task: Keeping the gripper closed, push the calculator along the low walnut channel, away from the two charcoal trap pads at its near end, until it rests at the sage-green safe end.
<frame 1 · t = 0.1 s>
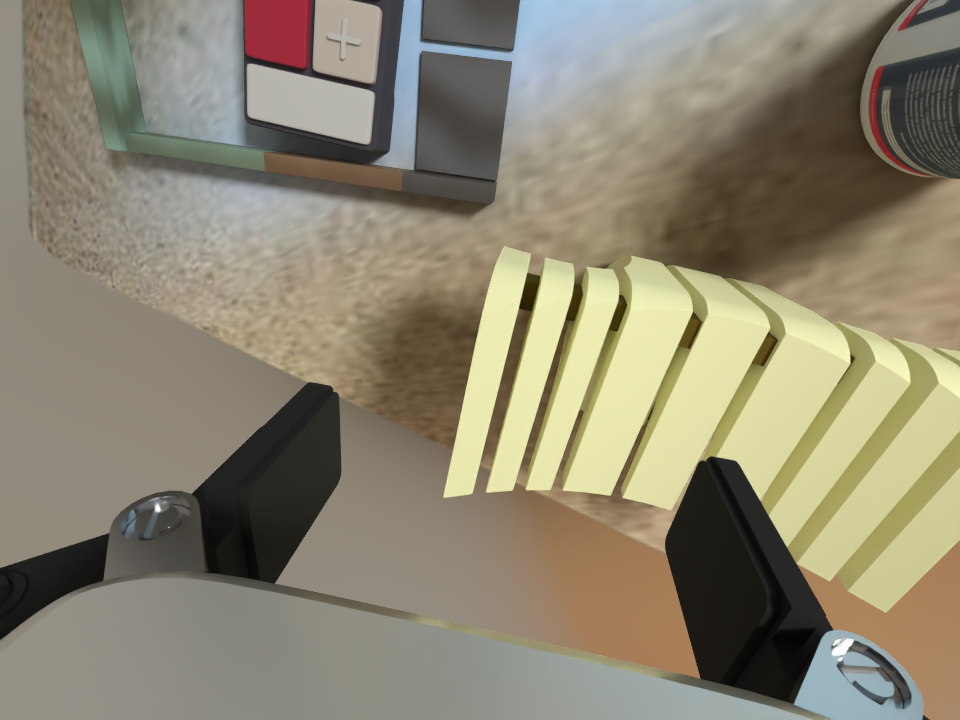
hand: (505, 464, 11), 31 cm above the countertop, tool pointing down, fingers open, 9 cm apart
slatted curved stool: (650, 341, 42), on the countertop
supplement tub: (955, 74, 30), on the countertop
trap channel: (299, 30, 35), on the countertop
calculator: (335, 36, 35), on the countertop
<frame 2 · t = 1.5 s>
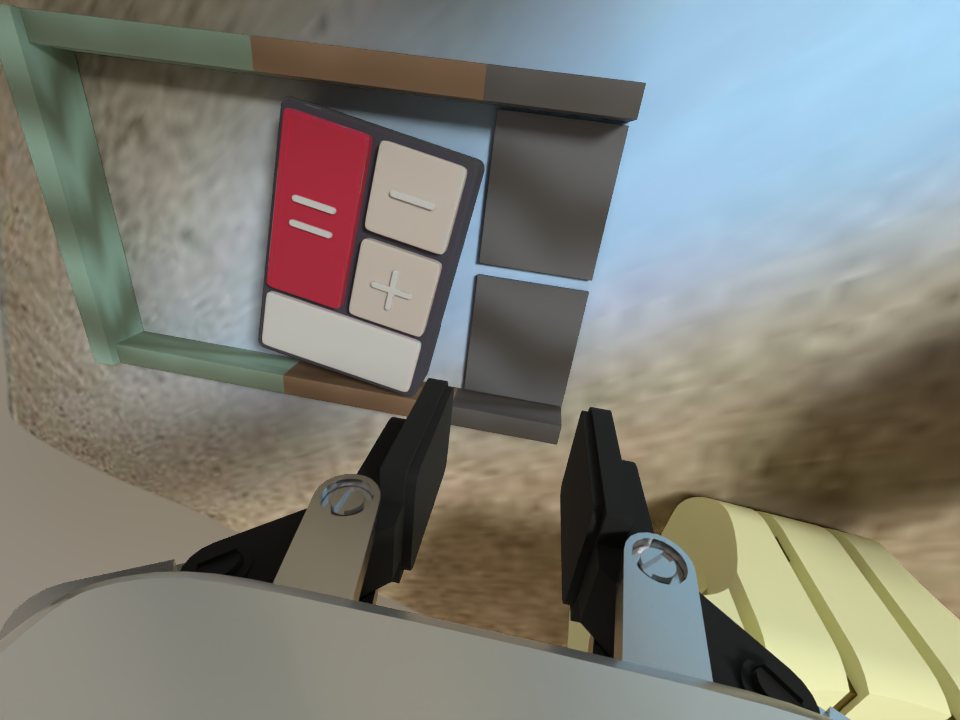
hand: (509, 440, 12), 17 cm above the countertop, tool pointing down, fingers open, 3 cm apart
slatted curved stool: (733, 565, 36), on the countertop
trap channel: (328, 244, 29), on the countertop
calculator: (376, 252, 29), on the countertop
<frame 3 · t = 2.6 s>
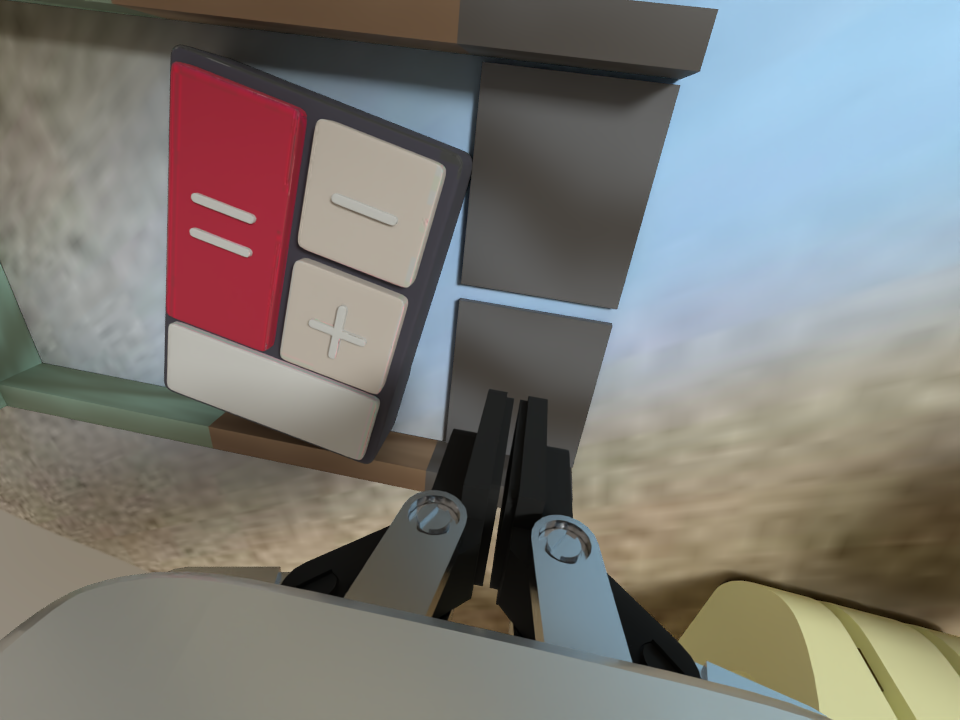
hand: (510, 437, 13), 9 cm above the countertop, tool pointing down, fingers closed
slatted curved stool: (786, 653, 29), on the countertop
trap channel: (258, 256, 21), on the countertop
calculator: (326, 271, 22), on the countertop
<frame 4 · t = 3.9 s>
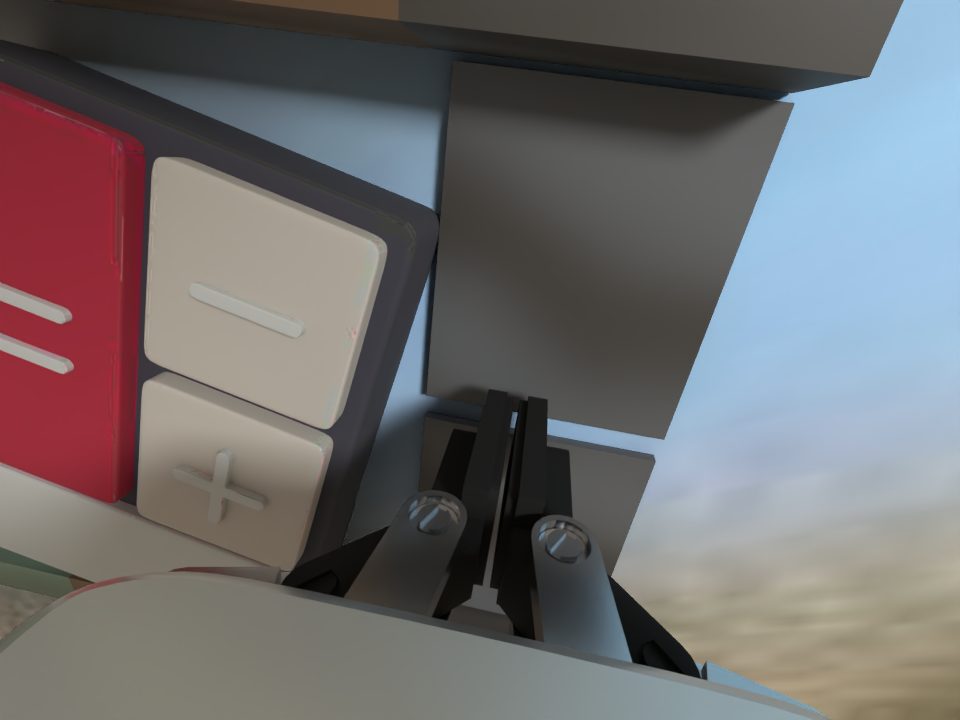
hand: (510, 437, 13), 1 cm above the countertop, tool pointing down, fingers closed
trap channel: (129, 345, 14), on the countertop
calculator: (231, 364, 15), on the countertop
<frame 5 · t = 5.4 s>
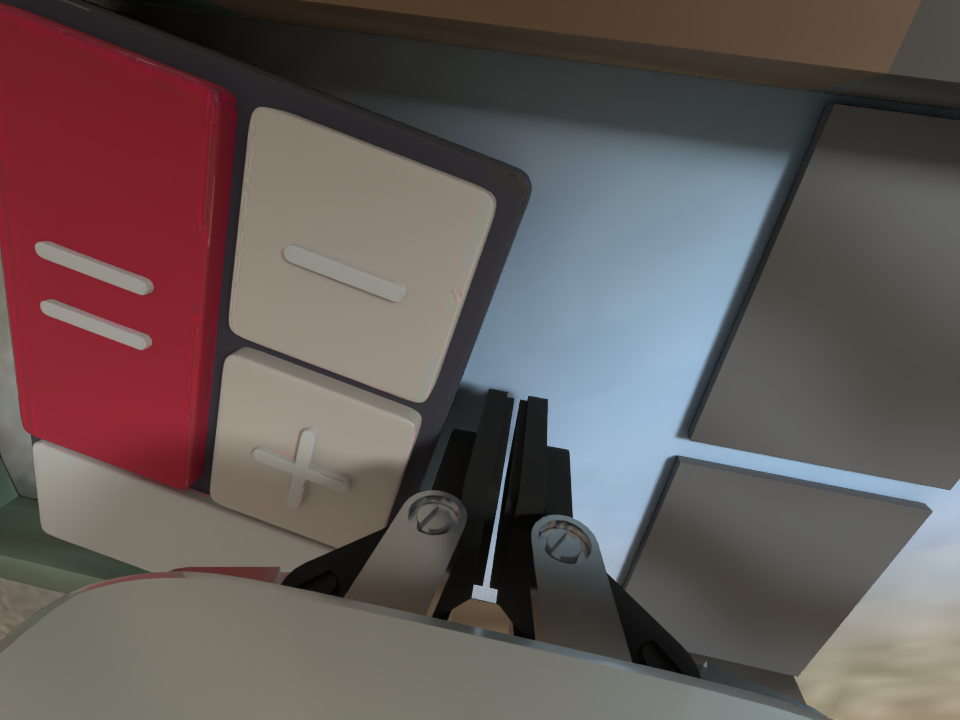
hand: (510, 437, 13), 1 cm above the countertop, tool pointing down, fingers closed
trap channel: (358, 382, 14), on the countertop
calculator: (293, 346, 14), on the countertop
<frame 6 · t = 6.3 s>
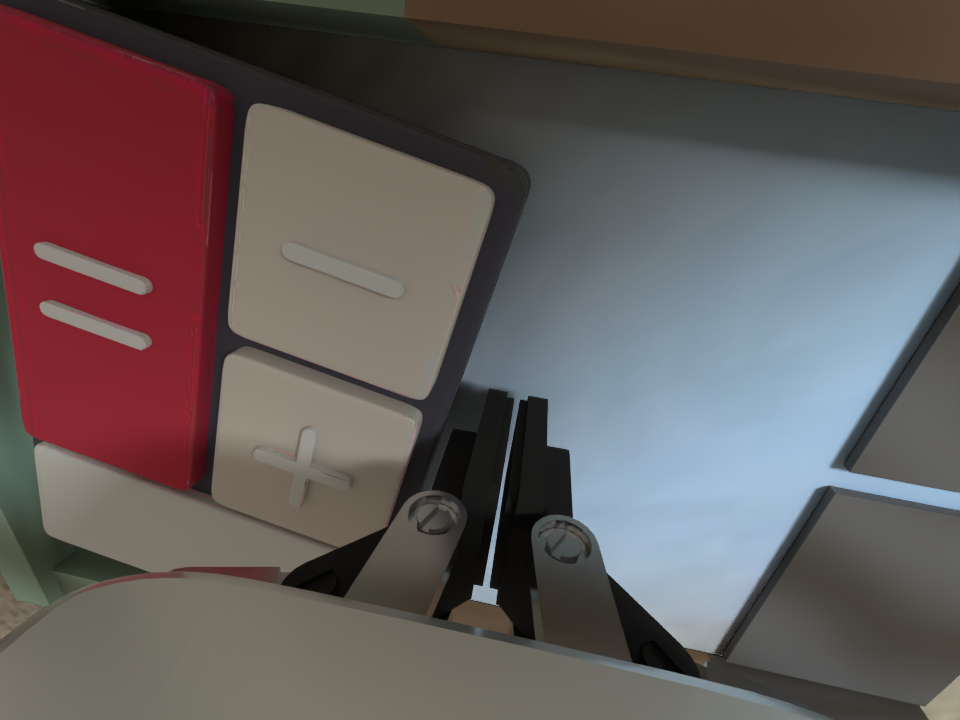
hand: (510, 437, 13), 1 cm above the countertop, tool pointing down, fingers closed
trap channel: (494, 411, 14), on the countertop
calculator: (293, 346, 14), on the countertop, touching gripper
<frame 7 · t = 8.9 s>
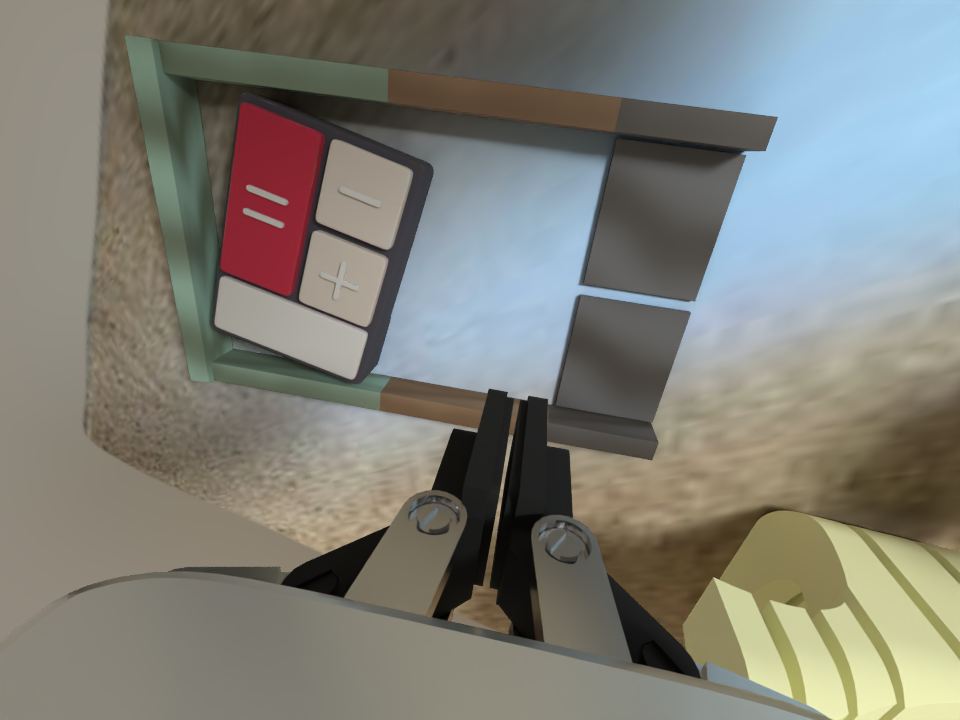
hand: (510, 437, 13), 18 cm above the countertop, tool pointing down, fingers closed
slatted curved stool: (810, 577, 36), on the countertop
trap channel: (432, 265, 30), on the countertop
calculator: (331, 245, 31), on the countertop
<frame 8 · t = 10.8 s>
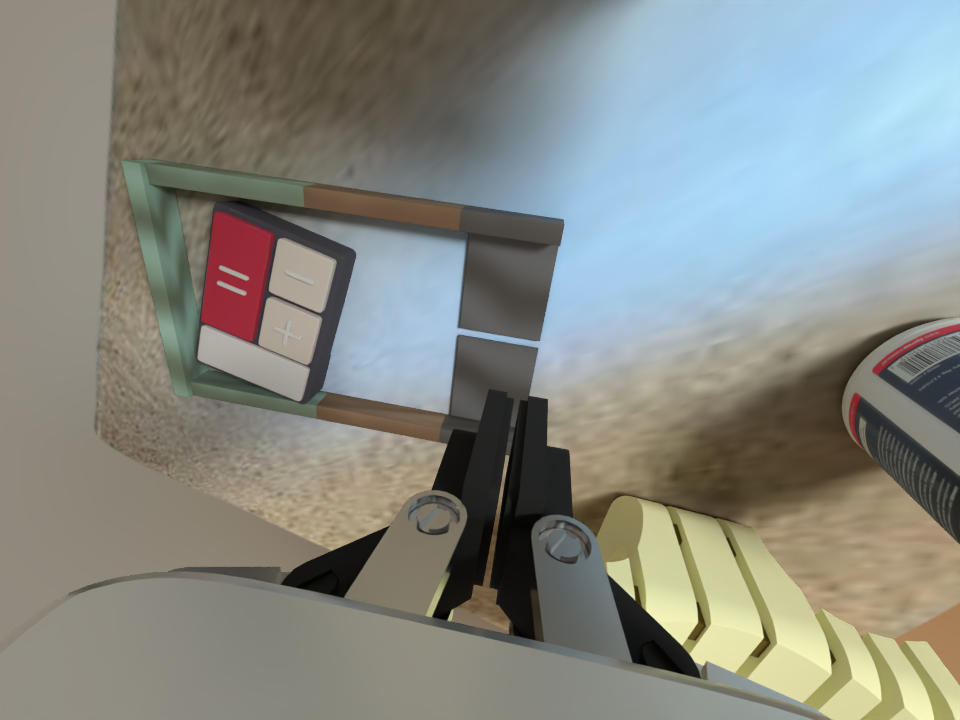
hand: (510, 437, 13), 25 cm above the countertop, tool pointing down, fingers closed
slatted curved stool: (658, 548, 47), on the countertop
supplement tub: (923, 384, 35), on the countertop
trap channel: (350, 312, 40), on the countertop
calculator: (285, 300, 41), on the countertop
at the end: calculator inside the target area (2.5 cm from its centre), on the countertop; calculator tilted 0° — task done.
